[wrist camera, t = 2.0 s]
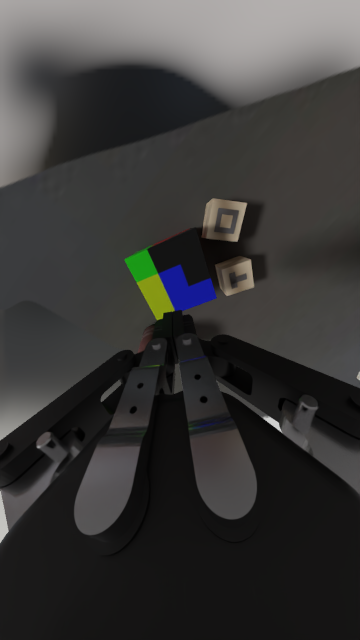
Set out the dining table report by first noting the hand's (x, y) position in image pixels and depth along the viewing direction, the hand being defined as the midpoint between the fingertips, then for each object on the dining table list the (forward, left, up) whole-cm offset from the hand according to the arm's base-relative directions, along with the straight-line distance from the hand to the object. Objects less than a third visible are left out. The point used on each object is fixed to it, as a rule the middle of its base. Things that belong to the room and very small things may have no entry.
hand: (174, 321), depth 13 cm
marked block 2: (-11, +3, -21) cm, 24 cm away
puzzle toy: (0, 0, -21) cm, 21 cm away
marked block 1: (-9, -6, -21) cm, 24 cm away
